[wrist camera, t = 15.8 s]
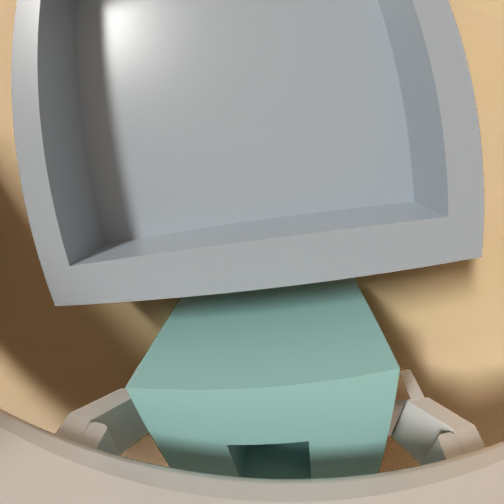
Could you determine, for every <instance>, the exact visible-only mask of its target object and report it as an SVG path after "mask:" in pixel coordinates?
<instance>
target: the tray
mask: <svg viewBox="0 0 504 504" xmlns="http://www.w3.org/2000/svg"><path fill="white" fill-rule="evenodd" d="M12 110H13V125H14V136H15V145H16V153H17V161H18V167H19V174H20V180H21V185H22V191H23V196H24V201H25V206H26V210H27V215H28V219H29V223H30V227H31V231H32V235H33V239H34V243H35V246H36V250H37V253H38V257H39V260H40V263H41V267H42V270H43V273H44V276H45V279H46V282H47V285H48V288H49V291H50V293H51V296H52V299H53V302H54V304H55V306H69V305H87V304H103V303H118V302H132V301H145V300H157V299H169V298H180V297H191V296H202V295H212V294H222V293H232V292H241V291H251V290H260V289H268V288H277V287H285V286H294V285H302V284H310V283H318V282H325V281H333V280H340V279H347V278H355V277H362V276H369V275H375V274H382V273H389V272H395V271H402V270H408V269H415V268H421V267H427V266H433V265H439V264H445V263H451V262H456V261H462V260H468V259H473V258H478V257H482V247H483V228H484V179H483V161H482V148H481V138H480V129H479V122H478V114H477V108H476V102H475V96H474V91H473V86H472V81H471V76H470V71H469V67H468V63H467V59H466V55H465V51H464V47H463V44H462V40H461V37H460V34H459V30H458V27H457V24H456V21H455V18H454V15H453V12H452V9H451V6H450V4H449V1H448V0H17V5H16V13H15V21H14V31H13V45H12Z"/></svg>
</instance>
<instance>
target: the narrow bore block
mask: <svg viewBox="0 0 504 504" xmlns="http://www.w3.org/2000/svg"><path fill="white" fill-rule="evenodd" d="M399 372H400V367H399V365H398V363H397V361H396V359H395V357H394V355H393V353H392V351H391V349H390V347H389V345H388V343H387V341H386V339H385V337H384V335H383V333H382V331H381V329H380V327H379V325H378V323H377V321H376V319H375V317H374V315H373V313H372V311H371V309H370V307H369V305H368V304H367V302H366V300H365V298H364V296H363V294H362V292H361V291H360V289H359V287H358V285H357V283H356V281H355V280H354V278H347V279H340V280H333V281H325V282H318V283H310V284H302V285H294V286H285V287H277V288H268V289H260V290H251V291H241V292H232V293H222V294H212V295H202V296H191V297H181V299H180V300H179V302H178V303H177V305H176V306H175V308H174V310H173V311H172V313H171V314H170V316H169V318H168V319H167V321H166V322H165V324H164V326H163V327H162V329H161V330H160V332H159V334H158V335H157V337H156V338H155V340H154V342H153V343H152V345H151V347H150V348H149V350H148V351H147V353H146V355H145V356H144V358H143V360H142V361H141V363H140V365H139V366H138V368H137V370H136V371H135V373H134V374H133V376H132V378H131V379H130V381H129V383H128V385H127V386H126V389H127V391H128V393H129V395H130V397H131V399H132V401H133V403H134V405H135V407H136V409H137V411H138V413H139V415H140V416H141V418H142V420H143V422H144V424H145V426H146V427H147V429H148V431H149V433H150V435H151V436H152V438H153V440H154V441H155V443H156V445H157V447H158V448H159V450H160V452H161V453H162V455H163V456H164V458H165V460H166V461H167V463H168V464H169V466H170V468H175V469H180V470H186V471H192V472H199V473H206V474H214V475H223V476H234V477H246V478H264V479H319V478H336V477H348V476H358V475H367V474H375V473H379V469H380V465H381V462H382V458H383V454H384V450H385V446H386V442H387V437H388V433H389V428H390V423H391V419H392V413H393V408H394V403H395V397H396V391H397V385H398V379H399Z"/></svg>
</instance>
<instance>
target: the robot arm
mask: <svg viewBox="0 0 504 504" xmlns="http://www.w3.org/2000/svg"><path fill="white" fill-rule="evenodd" d="M139 365H140V364H139ZM139 365H138V366H139ZM137 368H138V367H137ZM137 368H136V370H137ZM136 370H135V371H136ZM134 373H135V372H134ZM134 373H133V374H134ZM132 376H133V375H132ZM131 378H132V377H131ZM131 378H130V379H131ZM129 381H130V380H129ZM128 383H129V382H128ZM128 383H127V385H128ZM127 385H126V386H127ZM148 433H149V431H148V429H147V427H146V426H145V424H144V422H143V420H142V418H141V416H140V415H139V413H138V411H137V409H136V407H135V405H134V403H133V401H132V399H131V397H130V395H129V393H128V391H127V389H126V387H125V388H124V389H122V388H120V389H118V390H116V391H114V392H112V393H110V394H108V395H106V396H104V397H102V398H100V399H98V400H96V401H94V402H91V403H89V404H87V405H85V406H83V407H81V408H79V409H77V410H75V411H72V412H70V413H69V415H68V416H67V418H66V419H65V420H64V422H63V423H62V425H61V426H60V428H59V429H58V430H57V432H56V433H55V434H54V433H51V432H49V431H46V430H44V429H42V428H39V427H37V426H35V425H33V424H30V423H28V422H26V421H24V420H22V419H20V418H18V417H16V416H14V415H12V414H10V413H8V412H6V411H4V410H2V409H0V504H504V441H502V442H499V443H497V444H494V445H491V446H488V447H486V446H485V444H484V442H483V440H482V438H481V436H480V434H479V432H478V431H477V429H476V427H475V425H474V424H472V423H470V422H469V421H467V420H465V419H463V418H462V417H460V416H458V415H457V414H455V413H453V412H452V411H450V410H449V409H447V408H445V407H444V406H442V405H440V404H439V403H437V402H435V401H434V400H432V399H430V398H429V397H424V395H423V393H422V391H421V389H420V387H419V385H418V383H417V381H416V379H415V378H414V376H413V374H412V372H411V370H409V369H403V370H400V372H399V379H398V385H397V391H396V397H395V403H394V408H393V413H392V419H391V423H390V428H389V433H388V436H391V437H392V438H393V439H394V440H395V441H397V442H398V443H399V444H400V445H401V446H402V447H403V448H404V449H405V450H406V451H407V452H408V453H409V454H410V455H411V456H412V457H413V458H414V459H416V460H417V461H418V462H419V463H420V464H421V465H420V466H416V467H411V468H406V469H400V470H395V471H388V472H382V473H375V474H367V475H358V476H348V477H336V478H319V479H264V478H246V477H234V476H223V475H214V474H206V473H199V472H192V471H186V470H180V469H175V468H169V467H164V466H159V465H155V464H150V463H146V462H141V461H137V460H133V459H129V458H126V457H122V456H121V455H120V454H122V453H123V452H124V451H126V450H127V449H128V448H130V447H131V446H132V445H134V444H135V443H136V442H138V441H139V440H140V439H142V438H143V437H144V436H145V435H147V434H148Z"/></svg>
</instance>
